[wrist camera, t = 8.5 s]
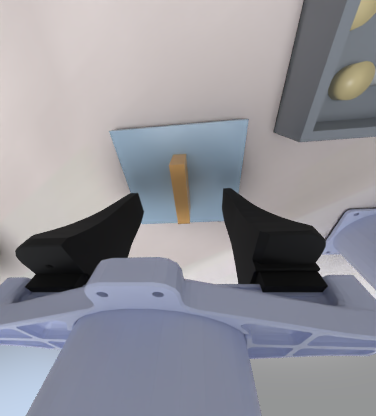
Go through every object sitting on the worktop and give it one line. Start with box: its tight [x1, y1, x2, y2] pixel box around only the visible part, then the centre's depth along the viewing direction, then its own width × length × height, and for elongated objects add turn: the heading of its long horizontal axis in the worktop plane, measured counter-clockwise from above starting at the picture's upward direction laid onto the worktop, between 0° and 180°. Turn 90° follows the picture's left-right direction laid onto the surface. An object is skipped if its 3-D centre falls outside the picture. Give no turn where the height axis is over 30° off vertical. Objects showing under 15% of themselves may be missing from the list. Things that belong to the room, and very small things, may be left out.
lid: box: [109, 119, 249, 224], centre depth 15 cm, size 12×11×4 cm
